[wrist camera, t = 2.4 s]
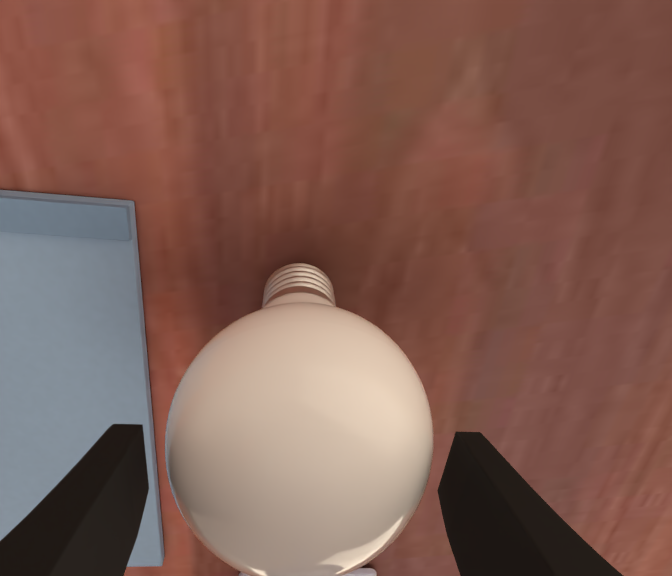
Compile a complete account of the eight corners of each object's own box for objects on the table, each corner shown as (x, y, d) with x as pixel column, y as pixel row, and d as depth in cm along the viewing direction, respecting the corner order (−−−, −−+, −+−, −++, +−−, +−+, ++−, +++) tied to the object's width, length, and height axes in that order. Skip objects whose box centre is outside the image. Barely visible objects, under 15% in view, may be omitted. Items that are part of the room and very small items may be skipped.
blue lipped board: (164, 555, 25) (160, 572, 24) (-78, 558, 24) (-91, 576, 23) (134, 200, 16) (126, 208, 15) (-260, 167, 15) (-291, 174, 14)
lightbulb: (203, 335, 19) (110, 637, 9) (235, 189, 16) (149, 395, 7) (349, 365, 20) (402, 656, 11) (400, 234, 18) (533, 462, 8)
